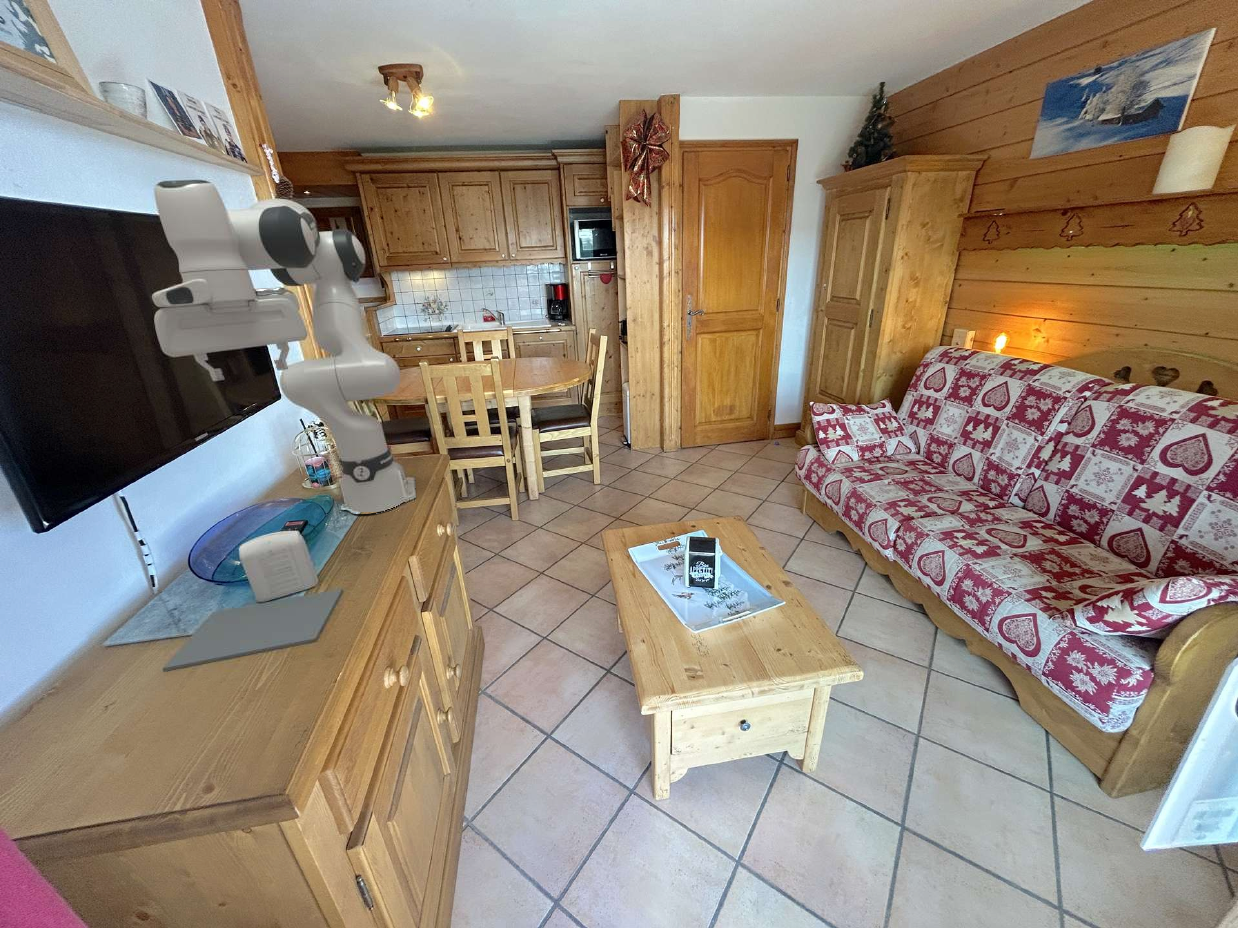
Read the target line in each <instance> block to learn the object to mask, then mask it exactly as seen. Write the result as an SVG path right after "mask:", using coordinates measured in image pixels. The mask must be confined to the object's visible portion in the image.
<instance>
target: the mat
mask: <svg viewBox="0 0 1238 928" xmlns="http://www.w3.org/2000/svg"><path fill="white" fill-rule="evenodd" d="M343 592H344V589H343V588H338V589H333V590H327V591H323V592H315V593H310V594H306V595H299V596H294V597H288V598H283V599H276V600H273V601H271V600H270V601H265V602H259V603H256V604H251V605H250V604H249V605H245V606H240V607H234V608H229V609H228V608H227V609H222V610H218V611H212V613H210V615H209V616H208V617H207V618H206V619H205V620H204V621H203V623H202V624H201V625H199V627H198V628H196V630H195V631H194V632H193V634H192V635H191V636H190V637H189V638H188V639H187V640H186V642H184V644H183V645H182V646H181V647H180V648H179V649H178V650H177V651H176V652H175V654H173V656H172V657H171V658H170V659H169V660H168V661H167V662H166V664H165V665H163V667H162V671H163V672H168V671H173V670H179V669H184V668H188V667H192V666H198V665H203V664H208V663H213V662H218V661H224V660H229V659H233V658H238V657H243V656H248V655H254V654H258V653H264V652H268V651H270V652H271V651H275V650H279V649H284V648H288V647H289V648H290V647H295V646H299V645H304V644H309V643H315V642H318V639H319V637H320V635H321V633H322V632H323V630H324V629H325V627H326V624H328V620H329V619H330V617H331V615H332V613H333V611H334V609H335V608H336V606H337V604H338V602H339V600H340V598H341V596H342V594H343Z"/></svg>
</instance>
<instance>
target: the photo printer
mask: <svg viewBox="0 0 1238 928" xmlns="http://www.w3.org/2000/svg"><path fill="white" fill-rule="evenodd" d="M238 552H239V553H238V554H239V555H238V557H239V561H240V562H241V565H242V567H243V570H244V572H245V575H246V577H247V579H248V581H249V582H248V583H249V585H250V587H251V589H252V592H253V594H254V597H255V600H256V601H257V602H258V603H266V602H270V601H271V600H275V599H276V600H277V599H279V598H282V597H285V596H288V595H292V594H296V593H299V592H302V591H305V590H308V589H311V588H314V587H316V586H317V585H318V584H319V578H318V575H317V572H316V570H315V566H314V563H313V560H312V558H311V555H310V552H309V548H308V546H307V544H306V541H305V539H304V537H303V536H302V535H301V533H300V531H299V530H285V531H284V530H283V531H277V532H271V533H266V534H264V535H260V536H257V537H255V538H252V539H250V540H247V541H246V542H244V543H243V544H240V545H239V548H238Z"/></svg>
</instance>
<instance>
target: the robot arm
mask: <svg viewBox="0 0 1238 928" xmlns="http://www.w3.org/2000/svg"><path fill="white" fill-rule="evenodd" d="M153 188H154V189H153V191H154V198H155V199H154V200H155V204H156V209H157V213H158V216H159V220H160V222H161V225H162V228H163V231H164V235H165V237H166V239H167V242H168V244H169V246H170V248H172V250H173V251H174V253H175V255H176V257H177V260H178V269H179V270H178V271H179V274H180V275H181V279H182V283H179V284H177V283H176V284H171V285H170V286H169V287H167V288H164V289H160V290H158V291H155V292H153V294H152V295H151V299H152V301H153V303H154V305H155V306H156V307H158V308H159V309H158V310H157V311H156V312H155V314H154V319H153V320H154V327H155V332H156V335H157V339H158V342H159V345H160V349H161V351H162V352H163V353H164V354H165V355H167V356H169V357H172V358H177V357H179V358H180V357H184V356H192V355H193V357H194V359H195V361H196V362H197V363H198V364H200V366H202V367H204V369H206V371H208V372H209V375H210V378H211V379H212V381H213V382H217V381H223V380H225V377H224V375H223V371H222V369H221V368H214V367H213V366H211V365H210V364H209V363H207V361H208V360H209V358H208V355H207V354H208V353H217V352H222V351H223V352H225V351H233V350H239V349H240V350H241V349H246V348H254V347H263V346H270V345H276V349H277V350H280V354H279V357H278V359H275V360H274V359H273V362H274V364H275V368H276V370H277V371H282V372H281V374H280V378H279V384H280V388H281V391H282V393H283V395H284V396H285V398H287V400H289V401H290V402H291V403H293V404H294V405H296V406H298V407H300V408H303V409H305V410H307V411H309V412H310V413H312V414H313V415H315V416H316V417H317V418H318V419H319V420H321V421H322V422H323V424H324V425H325V426H326V427H327V429H328V430H329V432H330V434H331V436H332V438H333V440H334V443H335V446H336V450H337V451H338V455H339V457H340V458H339V467H340V469H341V471H342V474H343V476H342V477H341V478H340V479H339V484H340V488H341V489H340V490H341V492H342V496H343V500H344V502H345V506H346V507H348V508H349V509H352V510H353V511H358V512H379V511H384V512H386V511H385V510H387V509H390V510H392V509H391V508H393V507H395V508H397V507H399V506H401V505H402V504H401V503H403V502H405V503H407V502H410V501H412V500H414V498H415V499H416V498H417V493H416V492H417V490H415V488H416V480H415V478H414V477H410V476H407V477H406V475H405V471H404V469H403V468H404V467H403V466H402V465H401V464H399V463H398V462H396V461H394V456H393V453H392V446H391V444H387V442H386V436H385V433H384V430H383V427H382V426H383V425H382V424H381V422H380V421H379V420H378V419H377V418H376V417H375V416H373V415H370V414H368V413H364V412H359V411H357V410H356V409H354V408H352V407H351V406H350V404H349V403H350V402H357V401H364V400H370V399H377V398H380V397H381V398H382V397H383V396H387V395H389V394H392V393H395V392H396V391H398V389H399V386H400V384H401V380H402V379H401V378H402V377H401V370H400V367H399V365H398V363H397V361H395V359H393V357H391V356H390V355H389V354H388V353H384V352H381V351H380V350H377V349H376V348H374V347H373V346H372V345H371V344H370V343H369V342H368V340H367V339H366V334H365V330H364V325H363V315H362V310H361V306H360V302H359V298H358V296H357V294H356V291H355V290H354V288H353V286H352V282H353V283H358V282H360V278H361V277H360V276H361V275H362V274H363V273H364V270H365V268H366V263H367V262H366V254H365V253H366V252H365V250H364V247H363V246H362V243H361V242H360V241H359V240H358V238H357V236H356V235H355V234H354V233H353V232H351V231H350V230H347V229H339V228H338V229H332V231H331V230H329V231H327V230H326V231H319V227H318V224H317V221H316V219H315V217H314V216H313V214H312V213H311V212H310V211H309V209H307V208H306V207H304V206H303V205H302V204H299V203H298V202H296V201H293V200H290V199H286V198H268V199H263V200H259V201H257V202H256V203H254V204H252V205H251V206H250V207H249V208H247V209H246V208H245V209H228V210H227V207H226V205H225V203H224V202H223V199H222V197H221V195H220V192H219V191H218V190H217V187H216V185H215V184H214V183H213V182H211V181H208V180H203V179H186V180H185V179H183V180H180V179H179V180H177V179H176V180H164V181H163V180H162V181H160V182H157V183H156V184H155V185H154V187H153ZM259 270H260V271H261V270H270V272H271V274H272V275H273V277H274V278H275V279H276V280H277V281H279V283H281V284H283V285H285V286H287V287H302V286H303V285H312V284H315V285H316V287H315V290H314V294H313V299H312V327H313V339H314V341H315V343H316V345H317V346H318V347H319V348H320V349H321V350H323V351H324V352H326V353H327V354H329V355H331V356H328V357H319V358H311V359H304V360H301V361H298V362H295V363H292V364H288V363H287V358H288V354H289V353H290V346H289V343H293V342H300V341H301V342H302V341H305V340H307V337H308V336H309V333H308V330H307V327H306V325H305V323H304V319H303V318H302V315H301V314H300V312H299V311H300V309H301V308H300V307H301V306H300V303H299V300H298V299H299V298H298V297H297V295H296V293H294V292H293V291H291V290H290V289H286V288H285V287H280V286H278V287H274V288H268V287H267V288H266V287H264V288H255V287H254V284H253V280H252V277H251V275H250V271H259ZM406 478H407V479H406ZM414 480H415V481H414ZM409 500H410V501H409ZM344 502H343V503H344ZM400 504H401V505H400ZM403 504H404V503H403ZM398 505H399V506H398ZM396 506H397V507H396ZM393 509H394V508H393ZM387 511H388V510H387Z"/></svg>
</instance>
